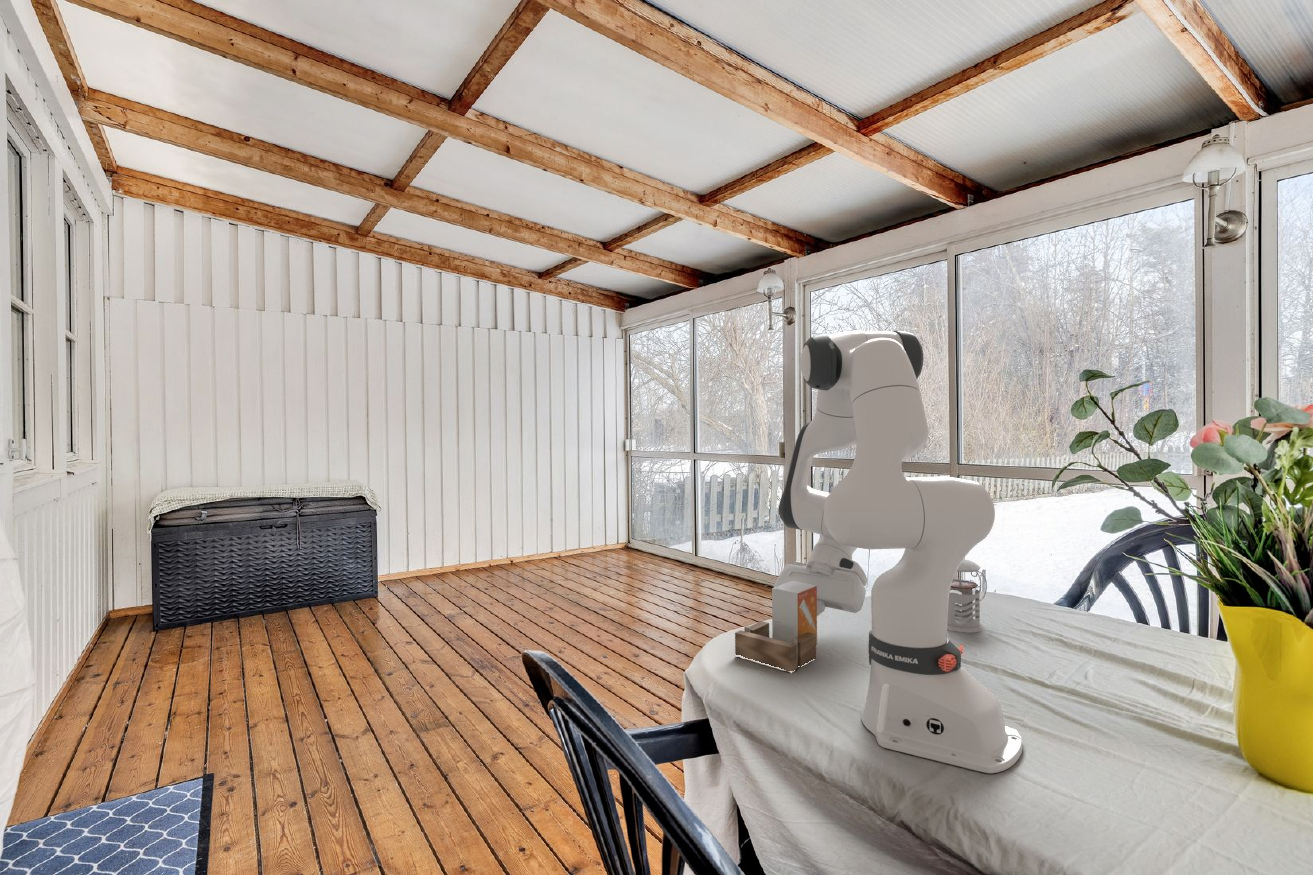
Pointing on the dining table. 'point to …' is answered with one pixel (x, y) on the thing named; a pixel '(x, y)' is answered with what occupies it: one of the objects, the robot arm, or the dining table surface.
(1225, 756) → the dining table surface
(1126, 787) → the dining table surface
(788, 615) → the small box
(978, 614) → the french press
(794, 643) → the brown u-shaped piece
